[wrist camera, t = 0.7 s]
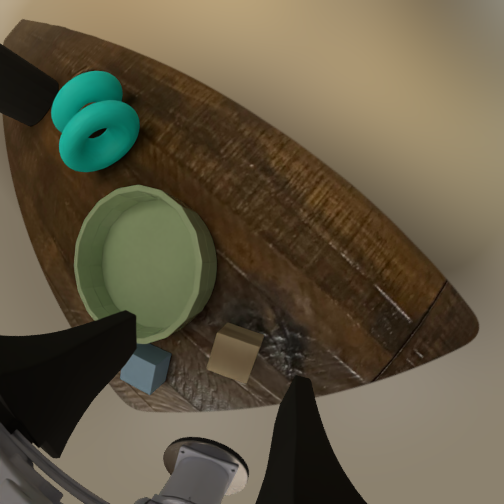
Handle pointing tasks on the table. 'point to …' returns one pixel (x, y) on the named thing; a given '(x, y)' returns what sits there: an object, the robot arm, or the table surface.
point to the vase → (24, 89)
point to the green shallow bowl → (145, 261)
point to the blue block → (146, 368)
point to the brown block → (234, 352)
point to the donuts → (93, 121)
